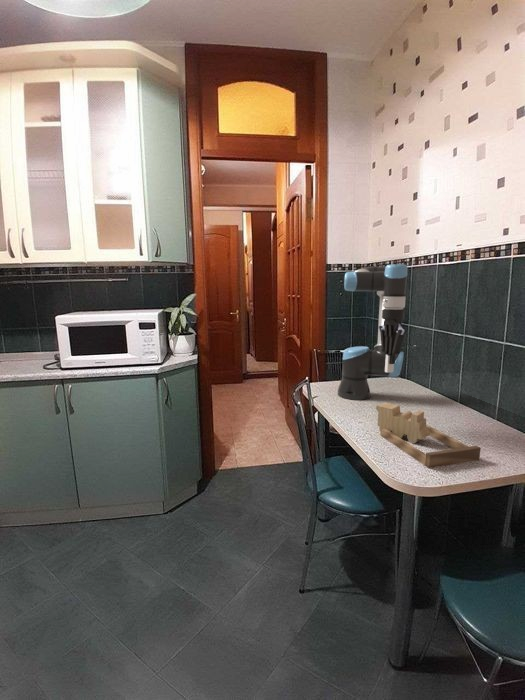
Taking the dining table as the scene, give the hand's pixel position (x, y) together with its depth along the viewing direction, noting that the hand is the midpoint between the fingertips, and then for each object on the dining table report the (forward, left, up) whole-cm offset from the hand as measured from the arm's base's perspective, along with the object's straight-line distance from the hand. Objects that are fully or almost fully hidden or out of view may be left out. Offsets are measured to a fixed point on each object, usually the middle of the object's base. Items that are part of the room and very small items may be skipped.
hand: (389, 371), depth 130 cm
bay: (+21, 0, -20) cm, 29 cm away
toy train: (+13, -3, -20) cm, 24 cm away
